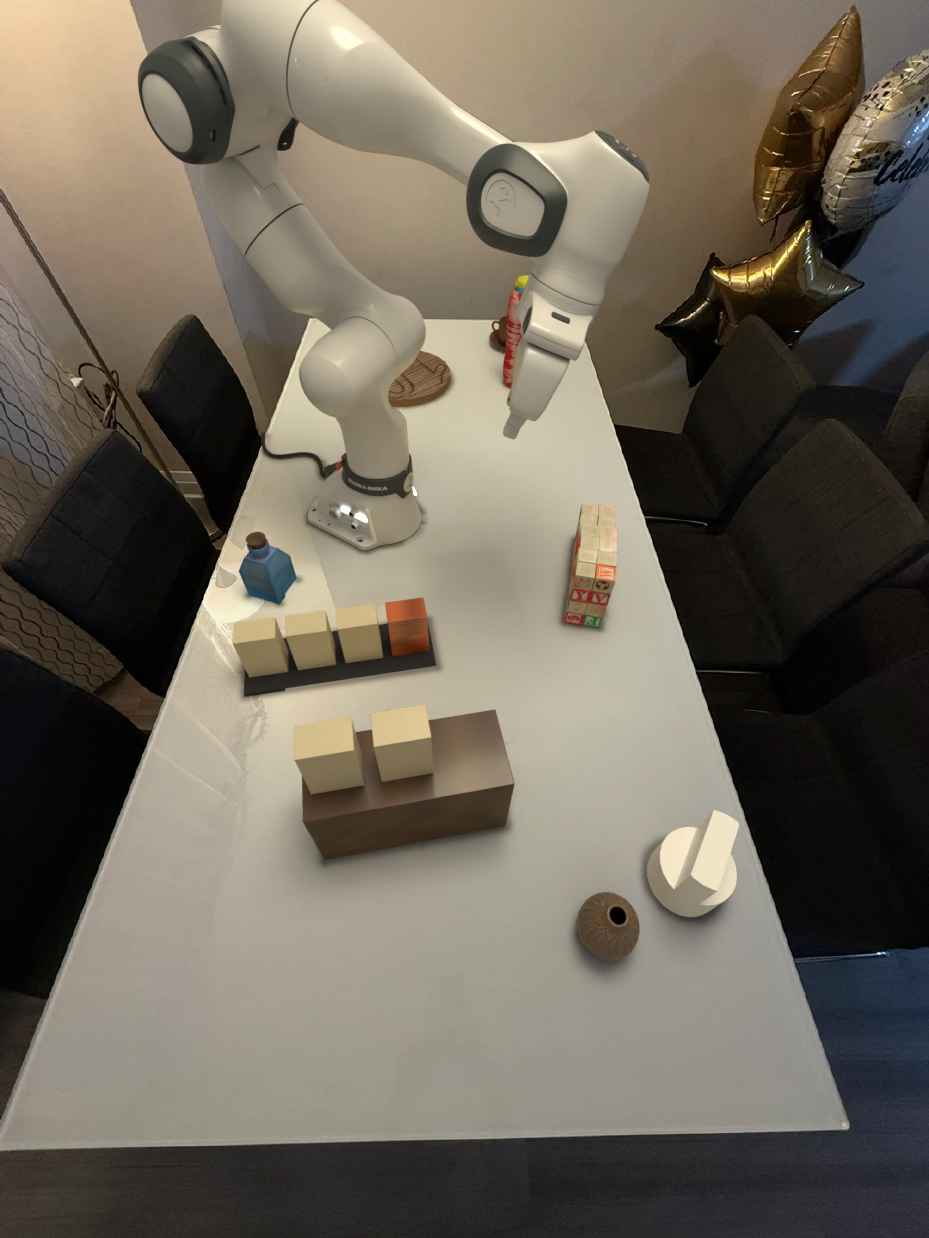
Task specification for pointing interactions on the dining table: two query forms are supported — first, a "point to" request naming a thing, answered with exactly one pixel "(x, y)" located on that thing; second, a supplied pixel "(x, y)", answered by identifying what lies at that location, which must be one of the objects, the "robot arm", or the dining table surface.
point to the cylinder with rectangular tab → (695, 866)
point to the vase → (608, 926)
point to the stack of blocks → (592, 566)
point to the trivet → (420, 381)
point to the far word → (319, 650)
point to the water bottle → (513, 330)
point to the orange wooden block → (407, 626)
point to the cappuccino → (499, 333)
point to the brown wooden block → (401, 779)
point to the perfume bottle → (266, 569)
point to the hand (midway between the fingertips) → (510, 419)
